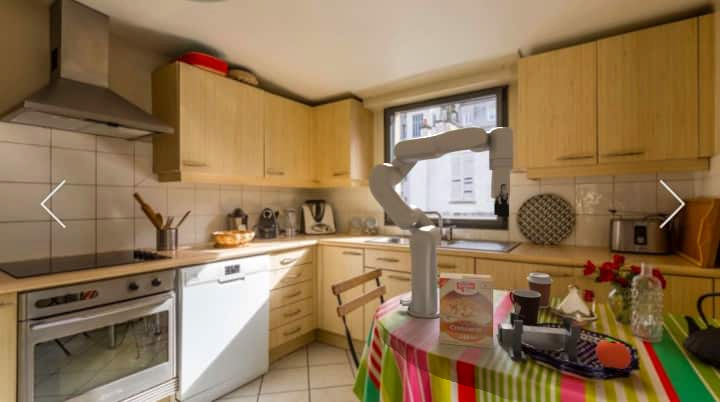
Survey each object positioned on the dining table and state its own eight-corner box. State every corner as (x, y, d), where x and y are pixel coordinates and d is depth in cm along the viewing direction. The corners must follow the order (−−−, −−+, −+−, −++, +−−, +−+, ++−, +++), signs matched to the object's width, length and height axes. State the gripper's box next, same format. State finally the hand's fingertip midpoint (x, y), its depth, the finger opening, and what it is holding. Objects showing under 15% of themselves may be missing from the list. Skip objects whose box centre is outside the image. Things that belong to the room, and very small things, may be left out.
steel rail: (499, 341, 96) (499, 328, 95) (497, 336, 99) (497, 323, 99) (575, 349, 90) (575, 335, 90) (570, 343, 94) (570, 329, 94)
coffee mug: (544, 328, 106) (544, 297, 106) (516, 326, 107) (516, 296, 107) (533, 315, 117) (533, 287, 117) (507, 314, 119) (507, 286, 119)
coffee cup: (530, 308, 125) (530, 277, 125) (524, 300, 134) (523, 271, 134) (556, 310, 123) (556, 278, 123) (548, 302, 132) (548, 272, 131)
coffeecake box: (439, 343, 96) (438, 277, 95) (439, 333, 103) (439, 271, 102) (494, 349, 92) (493, 280, 91) (491, 338, 99) (490, 274, 98)
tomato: (585, 360, 85) (585, 333, 85) (610, 359, 86) (610, 332, 86) (611, 376, 77) (611, 347, 77) (638, 375, 78) (638, 345, 78)
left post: (511, 360, 86) (511, 320, 85) (507, 348, 92) (507, 312, 92) (526, 361, 85) (526, 321, 85) (521, 350, 91) (521, 313, 91)
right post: (567, 366, 82) (567, 325, 82) (559, 354, 88) (559, 316, 88) (584, 368, 81) (584, 326, 81) (574, 355, 88) (574, 317, 87)
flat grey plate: (499, 345, 94) (499, 344, 94) (496, 335, 101) (496, 334, 101) (579, 353, 89) (579, 352, 89) (570, 342, 95) (570, 341, 95)
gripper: (486, 167, 119) (486, 214, 120) (492, 163, 103) (492, 217, 103) (508, 166, 117) (508, 214, 117) (518, 162, 101) (518, 217, 101)
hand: (501, 215), depth 110 cm, fingers open, 9 cm apart
